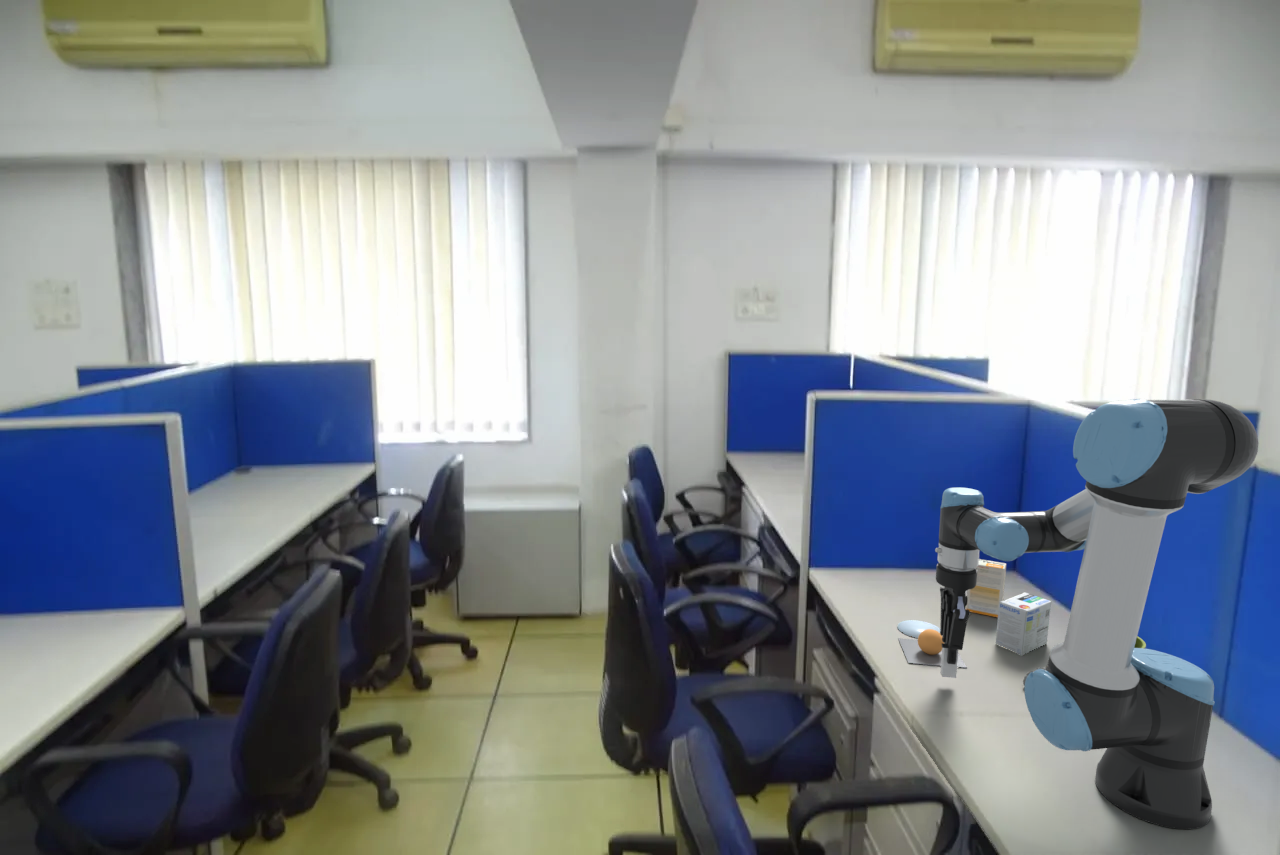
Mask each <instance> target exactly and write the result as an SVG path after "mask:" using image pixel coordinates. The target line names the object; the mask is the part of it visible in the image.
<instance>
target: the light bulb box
mask: <svg viewBox="0 0 1280 855" xmlns="http://www.w3.org/2000/svg"><path fill="white" fill-rule="evenodd" d="M1051 608H1052V601H1051V600H1049V599H1046V598H1043V597H1041V596H1037V595H1034V594H1031V593H1028V592H1025V591H1024V592H1021V593H1019V594H1017V595H1015V596H1012V597H1009V598H1006V599H1004V600H1003V601H1000V602H999V611H998V617H997V621H996V622H997V624H996V632H995V633H996V635H995V636H996V637H995V643H996V644H998V645H1000V646H1003V647H1005V648H1007V649H1010V650H1012V651H1014V652H1016V653H1018V654H1017V655H1019V654H1020V655H1019V656H1021V655H1022V656H1024V655H1026V654H1028V653H1030V652H1029V651H1031V652H1032V650H1033V651H1035V650H1037V649H1039V648H1041V647H1040V646H1042V647H1044V646H1045V644H1046V645H1047V644H1048V636H1049V626H1050V617H1051ZM1043 645H1044V646H1043ZM1000 646H999V647H1000ZM1038 647H1039V648H1038ZM1036 648H1037V649H1036ZM1007 649H1006V650H1007ZM1034 649H1035V650H1034ZM1014 652H1013V653H1014ZM1027 652H1028V653H1027ZM1016 653H1015V654H1016ZM1025 653H1026V654H1025ZM1023 654H1024V655H1023Z"/></svg>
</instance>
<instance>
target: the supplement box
mask: <svg viewBox="0 0 1280 855" xmlns="http://www.w3.org/2000/svg"><path fill="white" fill-rule="evenodd" d="M976 569H977V583H976V586H975V587H974V588H973V589H969V590H967V591H966V596H967V598H968V600H967V605H966V608H965V610H969V612H970V613H974V614H979V615H984V616H990V617H994V618H998V611H999V602H1000V601H1004V600H1005V599H1004V598H1005V597H1004V596H1005V587H1006V586H1005V585H1006V584H1005V583H1006V573H1007V563H1005V562H999V561H993V560H987V559H981V558H979V564H978V566H977V567H976Z"/></svg>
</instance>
